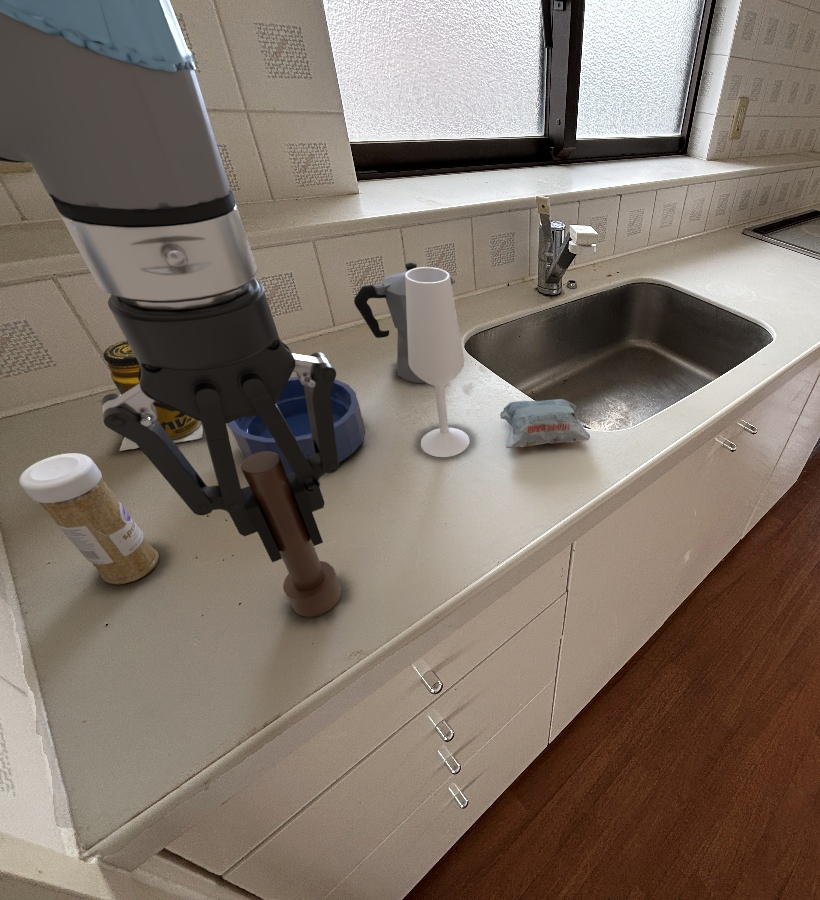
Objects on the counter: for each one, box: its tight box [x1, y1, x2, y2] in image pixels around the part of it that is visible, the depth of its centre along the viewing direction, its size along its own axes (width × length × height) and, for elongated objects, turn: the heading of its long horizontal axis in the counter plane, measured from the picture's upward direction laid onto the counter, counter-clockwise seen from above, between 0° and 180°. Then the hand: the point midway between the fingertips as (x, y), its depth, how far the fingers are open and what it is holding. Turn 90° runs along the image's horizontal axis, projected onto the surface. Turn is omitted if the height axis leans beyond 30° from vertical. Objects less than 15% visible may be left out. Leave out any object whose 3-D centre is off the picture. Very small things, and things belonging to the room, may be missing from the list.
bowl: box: [226, 376, 366, 474], centre depth 65 cm, size 15×15×6 cm
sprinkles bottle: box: [18, 452, 160, 585], centre depth 46 cm, size 5×5×14 cm
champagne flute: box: [405, 266, 470, 458], centre depth 63 cm, size 7×7×24 cm
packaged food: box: [499, 398, 591, 449], centre depth 72 cm, size 9×12×5 cm
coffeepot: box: [353, 262, 456, 384], centre depth 78 cm, size 15×9×18 cm, turn 129°
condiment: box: [103, 339, 204, 452], centre depth 62 cm, size 7×8×12 cm
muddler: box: [240, 452, 342, 618], centre depth 44 cm, size 4×4×18 cm
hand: (293, 541), depth 44 cm, fingers closed on muddler, 3 cm apart
